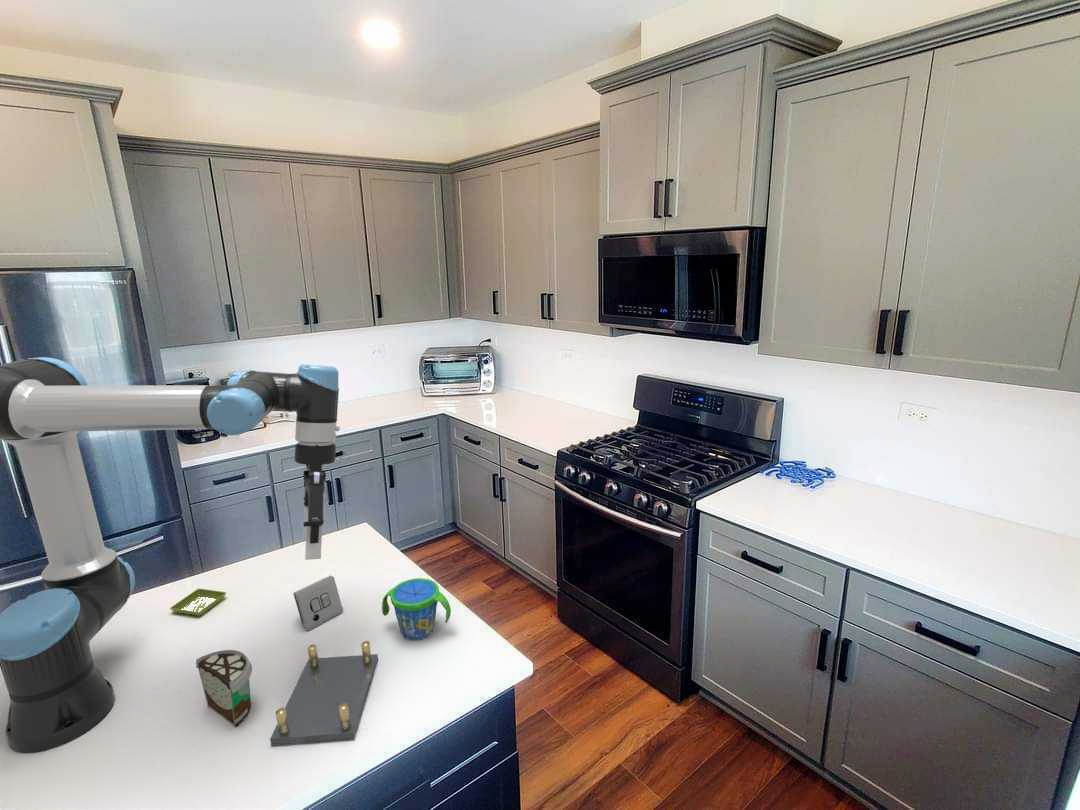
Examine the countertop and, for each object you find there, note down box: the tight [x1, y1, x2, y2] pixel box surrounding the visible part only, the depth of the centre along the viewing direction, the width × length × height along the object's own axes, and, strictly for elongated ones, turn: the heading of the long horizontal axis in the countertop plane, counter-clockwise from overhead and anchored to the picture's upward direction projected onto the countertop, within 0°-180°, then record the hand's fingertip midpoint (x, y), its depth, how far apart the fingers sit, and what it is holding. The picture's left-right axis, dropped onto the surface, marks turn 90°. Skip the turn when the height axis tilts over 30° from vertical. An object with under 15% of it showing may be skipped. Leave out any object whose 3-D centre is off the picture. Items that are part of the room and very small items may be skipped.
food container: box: [195, 649, 253, 728], centre depth 103 cm, size 12×6×10 cm, turn 58°
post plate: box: [269, 640, 379, 747], centre depth 105 cm, size 14×20×6 cm
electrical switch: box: [293, 575, 344, 631], centre depth 129 cm, size 9×5×9 cm, turn 141°
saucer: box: [169, 588, 227, 617], centre depth 135 cm, size 9×9×2 cm
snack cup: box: [381, 577, 452, 641], centre depth 123 cm, size 16×10×10 cm
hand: (311, 547), depth 111 cm, fingers open, 13 cm apart
